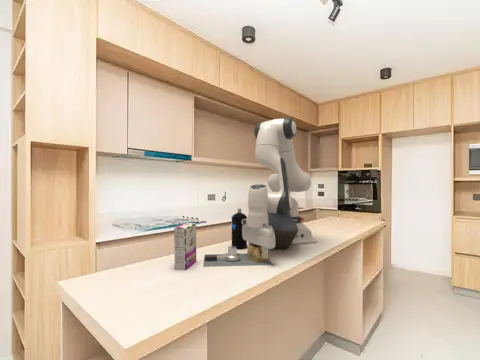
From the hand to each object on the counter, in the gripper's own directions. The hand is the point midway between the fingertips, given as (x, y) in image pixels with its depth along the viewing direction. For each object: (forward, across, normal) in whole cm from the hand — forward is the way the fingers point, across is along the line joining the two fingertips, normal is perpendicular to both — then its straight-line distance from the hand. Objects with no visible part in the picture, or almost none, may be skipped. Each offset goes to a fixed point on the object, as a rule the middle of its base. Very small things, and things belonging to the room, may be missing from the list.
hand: (257, 254), depth 112 cm
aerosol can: (+3, +22, -3) cm, 22 cm away
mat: (+2, +5, +8) cm, 9 cm away
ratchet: (+2, +7, +13) cm, 15 cm away
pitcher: (+3, +14, -21) cm, 25 cm away
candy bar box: (+3, +8, +29) cm, 31 cm away
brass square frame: (+2, 0, 0) cm, 2 cm away
